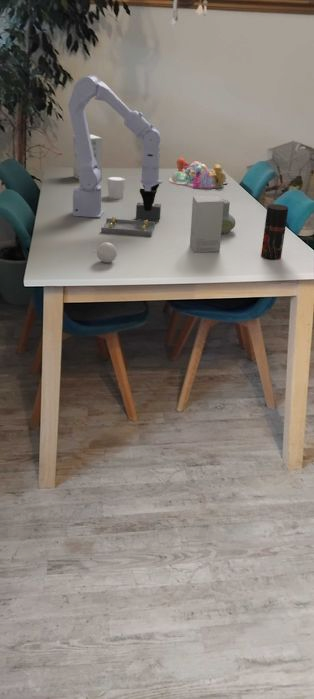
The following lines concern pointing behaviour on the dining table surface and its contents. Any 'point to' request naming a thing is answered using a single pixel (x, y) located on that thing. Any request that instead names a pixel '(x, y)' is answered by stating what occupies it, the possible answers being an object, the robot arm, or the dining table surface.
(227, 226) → the air freshener
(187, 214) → the dining table surface
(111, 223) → the tray
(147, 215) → the block
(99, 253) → the white sphere
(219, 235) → the skincare box
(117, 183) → the white tapered cup
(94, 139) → the supplement box
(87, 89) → the robot arm
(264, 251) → the deodorant
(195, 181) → the candy landscape model
